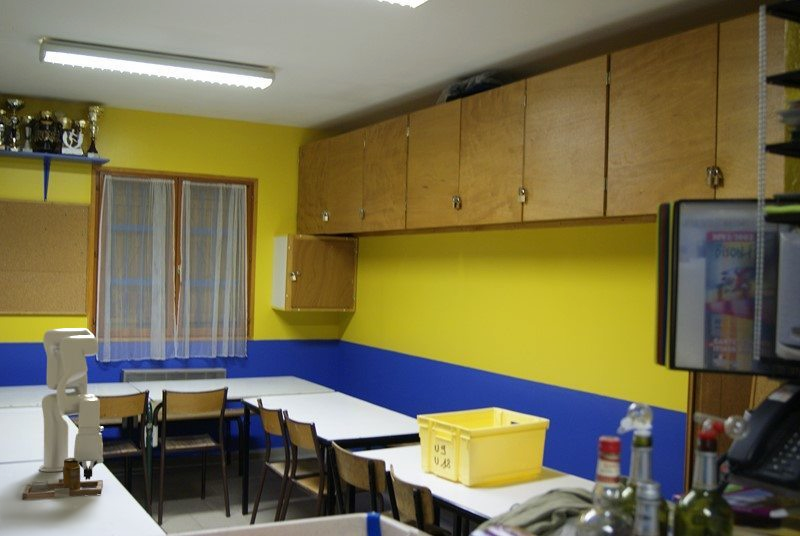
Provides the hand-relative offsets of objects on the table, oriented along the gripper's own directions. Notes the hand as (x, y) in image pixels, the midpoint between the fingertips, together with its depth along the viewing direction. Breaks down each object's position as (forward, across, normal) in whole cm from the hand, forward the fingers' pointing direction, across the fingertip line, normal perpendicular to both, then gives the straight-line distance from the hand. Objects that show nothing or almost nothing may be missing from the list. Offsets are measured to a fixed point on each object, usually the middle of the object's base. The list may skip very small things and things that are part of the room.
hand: (87, 478), depth 316 cm
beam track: (+4, +8, +1) cm, 10 cm away
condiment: (+5, +6, +1) cm, 7 cm away
